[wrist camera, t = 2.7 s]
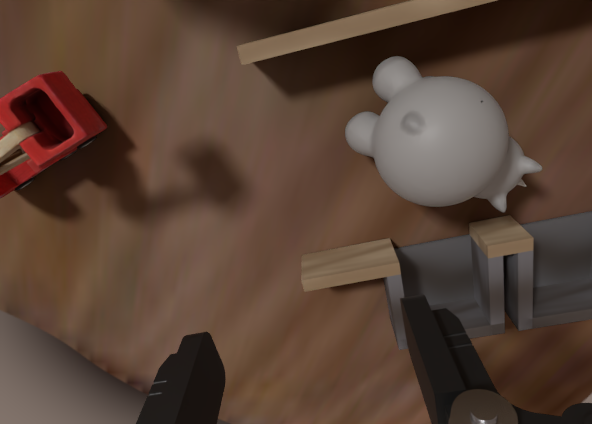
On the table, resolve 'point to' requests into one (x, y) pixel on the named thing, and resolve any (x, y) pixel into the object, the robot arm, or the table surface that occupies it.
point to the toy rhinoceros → (438, 139)
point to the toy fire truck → (42, 128)
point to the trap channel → (457, 250)
